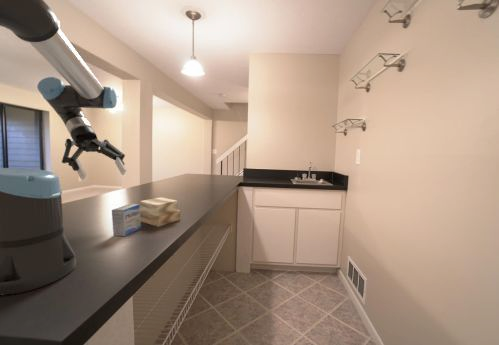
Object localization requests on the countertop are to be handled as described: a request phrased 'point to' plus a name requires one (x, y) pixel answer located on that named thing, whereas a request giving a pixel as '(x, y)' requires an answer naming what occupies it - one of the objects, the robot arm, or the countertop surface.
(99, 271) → the countertop surface
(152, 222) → the tower bottom slab
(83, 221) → the countertop surface
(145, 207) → the tower top slab
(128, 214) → the medicine box
